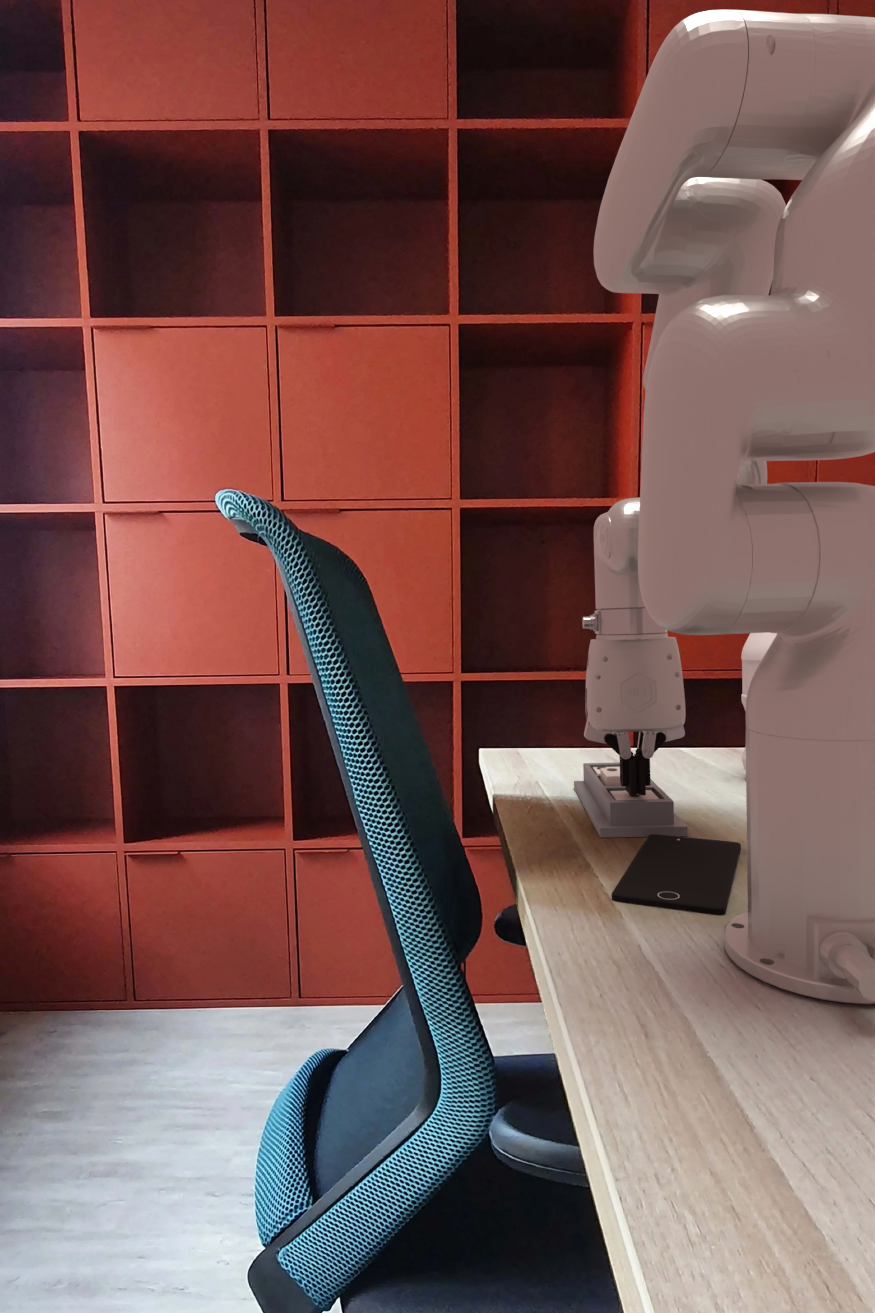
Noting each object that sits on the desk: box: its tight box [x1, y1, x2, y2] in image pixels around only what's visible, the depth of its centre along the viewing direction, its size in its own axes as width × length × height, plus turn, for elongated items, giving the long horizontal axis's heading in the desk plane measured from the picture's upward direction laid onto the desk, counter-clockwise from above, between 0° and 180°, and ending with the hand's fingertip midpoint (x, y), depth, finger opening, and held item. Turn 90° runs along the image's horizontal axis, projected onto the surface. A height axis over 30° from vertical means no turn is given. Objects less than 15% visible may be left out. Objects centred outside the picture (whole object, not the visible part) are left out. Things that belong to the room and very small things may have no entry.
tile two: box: [600, 768, 621, 786], centre depth 90 cm, size 5×5×2 cm
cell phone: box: [611, 834, 742, 916], centre depth 69 cm, size 9×18×1 cm, turn 155°
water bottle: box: [740, 632, 777, 772], centre depth 101 cm, size 7×7×25 cm
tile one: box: [610, 790, 659, 800], centre depth 84 cm, size 5×5×2 cm
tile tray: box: [573, 761, 689, 839], centre depth 90 cm, size 22×9×4 cm, turn 177°
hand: (635, 792), depth 83 cm, fingers closed
